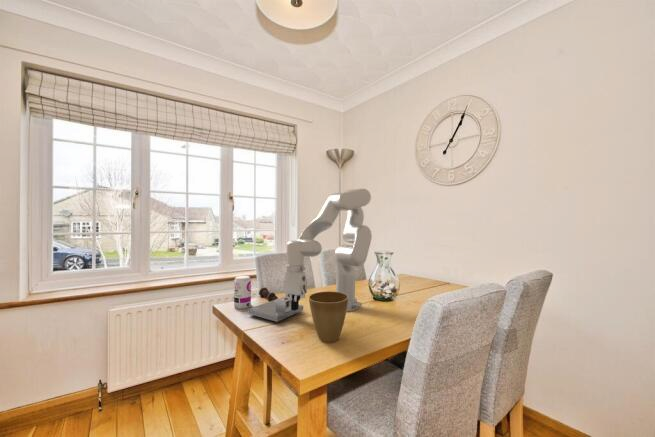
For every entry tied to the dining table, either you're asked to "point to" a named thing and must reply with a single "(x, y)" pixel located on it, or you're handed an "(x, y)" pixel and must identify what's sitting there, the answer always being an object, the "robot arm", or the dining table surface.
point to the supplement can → (242, 292)
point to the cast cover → (283, 304)
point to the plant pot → (328, 314)
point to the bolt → (267, 294)
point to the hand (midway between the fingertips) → (294, 309)
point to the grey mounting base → (272, 311)
